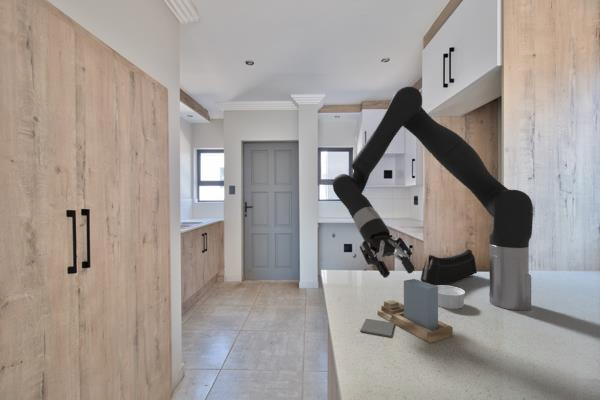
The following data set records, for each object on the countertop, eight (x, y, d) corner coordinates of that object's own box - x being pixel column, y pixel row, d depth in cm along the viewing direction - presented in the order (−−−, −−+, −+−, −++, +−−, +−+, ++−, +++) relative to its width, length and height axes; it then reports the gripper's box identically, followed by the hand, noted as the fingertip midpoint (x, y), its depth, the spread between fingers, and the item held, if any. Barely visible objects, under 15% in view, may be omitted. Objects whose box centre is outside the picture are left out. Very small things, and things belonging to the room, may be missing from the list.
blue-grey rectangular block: (404, 324, 72) (403, 280, 72) (414, 321, 74) (414, 278, 74) (427, 336, 66) (427, 288, 66) (438, 333, 68) (437, 286, 67)
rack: (377, 314, 78) (376, 301, 78) (397, 309, 82) (397, 296, 82) (430, 343, 63) (430, 326, 63) (452, 335, 66) (452, 320, 66)
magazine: (471, 251, 117) (427, 235, 102) (480, 252, 115) (436, 237, 99) (465, 294, 115) (418, 284, 100) (473, 296, 112) (427, 287, 97)
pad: (394, 324, 72) (394, 323, 72) (391, 337, 66) (391, 335, 66) (366, 320, 75) (366, 318, 75) (360, 331, 69) (360, 330, 69)
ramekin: (460, 313, 79) (460, 297, 79) (427, 305, 85) (427, 290, 85) (468, 303, 86) (468, 289, 86) (437, 296, 92) (436, 283, 92)
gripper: (356, 218, 80) (386, 269, 70) (395, 216, 86) (427, 262, 76) (345, 235, 85) (371, 285, 75) (383, 232, 91) (412, 277, 81)
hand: (399, 273), depth 76 cm, fingers open, 8 cm apart
